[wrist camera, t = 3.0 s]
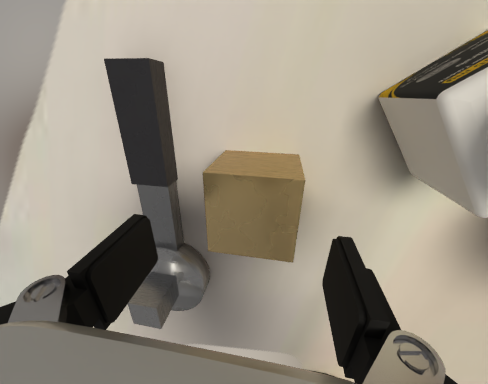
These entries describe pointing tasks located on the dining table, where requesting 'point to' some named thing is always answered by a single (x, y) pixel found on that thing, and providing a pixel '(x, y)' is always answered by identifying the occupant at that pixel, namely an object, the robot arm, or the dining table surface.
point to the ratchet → (155, 189)
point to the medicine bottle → (446, 124)
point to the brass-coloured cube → (254, 204)
